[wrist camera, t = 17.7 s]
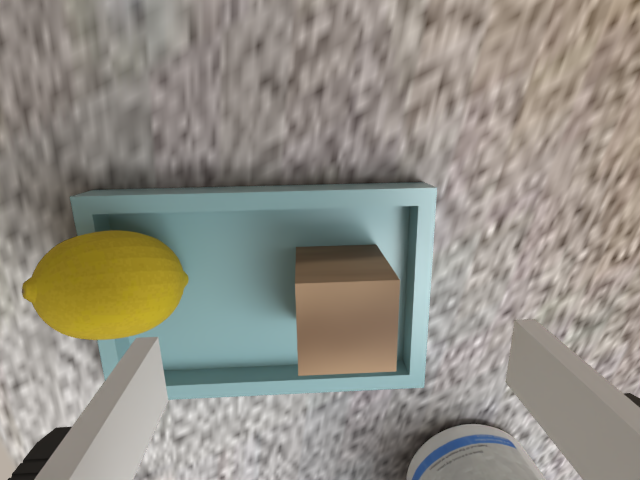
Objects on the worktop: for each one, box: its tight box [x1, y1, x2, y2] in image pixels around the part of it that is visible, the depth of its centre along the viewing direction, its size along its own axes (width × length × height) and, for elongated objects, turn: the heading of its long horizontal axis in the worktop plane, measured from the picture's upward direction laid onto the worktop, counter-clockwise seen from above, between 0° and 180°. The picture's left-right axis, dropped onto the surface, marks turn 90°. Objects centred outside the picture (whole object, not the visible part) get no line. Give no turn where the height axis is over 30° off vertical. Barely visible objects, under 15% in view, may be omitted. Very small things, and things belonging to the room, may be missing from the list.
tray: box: [70, 182, 437, 400], centre depth 24 cm, size 13×20×2 cm, turn 91°
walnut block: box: [295, 244, 400, 376], centre depth 22 cm, size 5×5×6 cm
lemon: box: [22, 230, 189, 340], centre depth 20 cm, size 6×6×8 cm
